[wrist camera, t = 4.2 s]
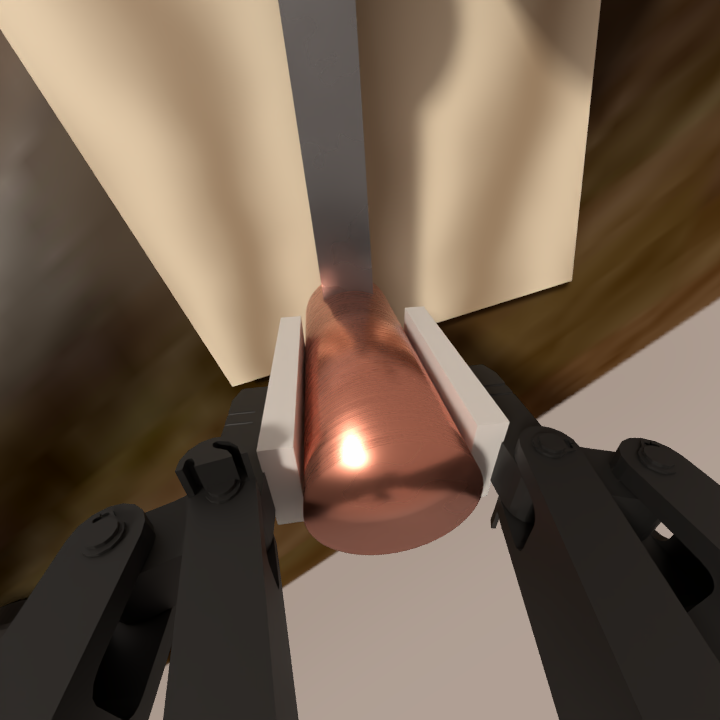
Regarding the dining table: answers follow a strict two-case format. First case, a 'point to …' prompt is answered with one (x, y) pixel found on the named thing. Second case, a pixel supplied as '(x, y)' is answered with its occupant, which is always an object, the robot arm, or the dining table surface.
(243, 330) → the tapered cream board
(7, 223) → the dining table surface
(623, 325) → the dining table surface
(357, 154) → the lever
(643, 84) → the dining table surface
